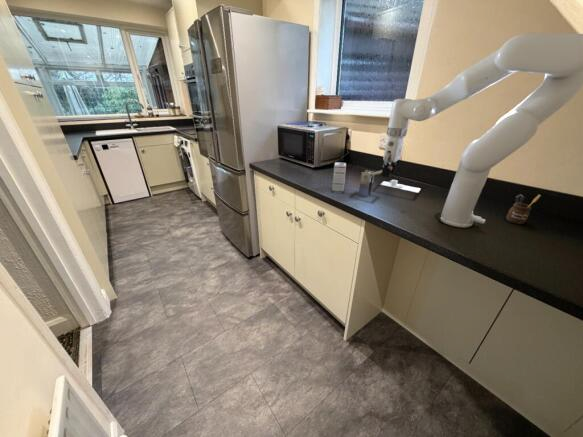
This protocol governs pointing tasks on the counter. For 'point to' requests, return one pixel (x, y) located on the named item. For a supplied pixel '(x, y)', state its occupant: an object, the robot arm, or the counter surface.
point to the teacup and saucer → (400, 186)
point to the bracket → (366, 183)
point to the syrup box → (339, 176)
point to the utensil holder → (520, 211)
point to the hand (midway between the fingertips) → (387, 174)
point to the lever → (378, 172)
